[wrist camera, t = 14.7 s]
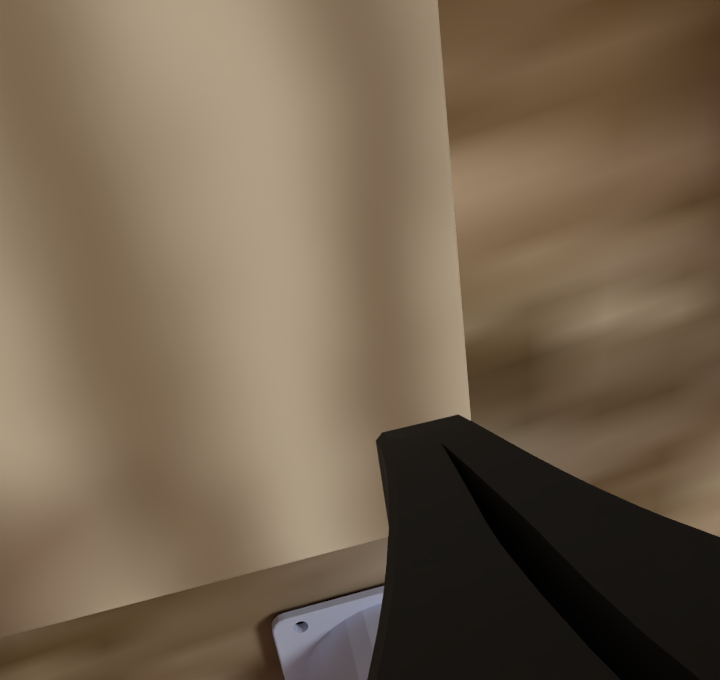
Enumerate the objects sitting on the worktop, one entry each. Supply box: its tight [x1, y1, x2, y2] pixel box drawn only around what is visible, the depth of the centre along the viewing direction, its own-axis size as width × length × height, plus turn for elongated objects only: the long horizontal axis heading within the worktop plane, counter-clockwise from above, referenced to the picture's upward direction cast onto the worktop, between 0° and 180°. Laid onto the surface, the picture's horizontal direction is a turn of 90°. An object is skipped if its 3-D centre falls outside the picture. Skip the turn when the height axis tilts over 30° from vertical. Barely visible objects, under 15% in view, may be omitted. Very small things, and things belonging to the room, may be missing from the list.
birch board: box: [0, 0, 471, 638], centre depth 14 cm, size 16×21×3 cm
